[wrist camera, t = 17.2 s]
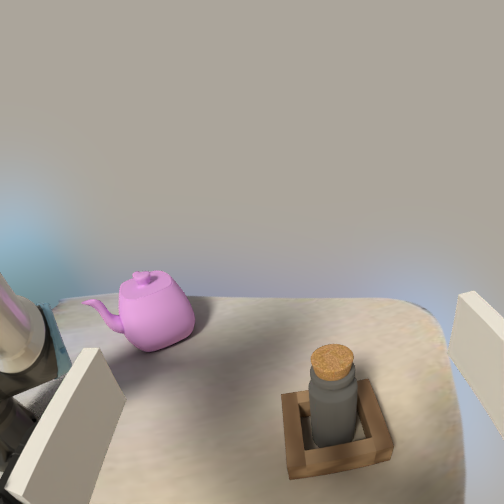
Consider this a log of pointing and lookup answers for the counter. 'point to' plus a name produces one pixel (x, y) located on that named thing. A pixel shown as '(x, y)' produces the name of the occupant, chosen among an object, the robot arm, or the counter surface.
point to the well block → (337, 456)
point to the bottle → (332, 395)
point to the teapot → (150, 311)
